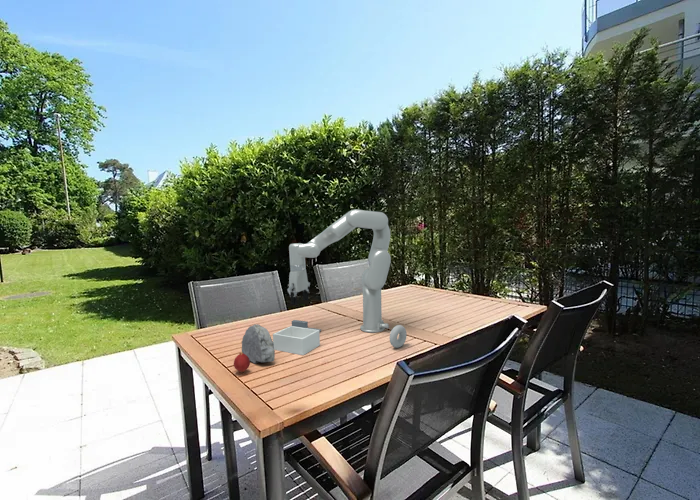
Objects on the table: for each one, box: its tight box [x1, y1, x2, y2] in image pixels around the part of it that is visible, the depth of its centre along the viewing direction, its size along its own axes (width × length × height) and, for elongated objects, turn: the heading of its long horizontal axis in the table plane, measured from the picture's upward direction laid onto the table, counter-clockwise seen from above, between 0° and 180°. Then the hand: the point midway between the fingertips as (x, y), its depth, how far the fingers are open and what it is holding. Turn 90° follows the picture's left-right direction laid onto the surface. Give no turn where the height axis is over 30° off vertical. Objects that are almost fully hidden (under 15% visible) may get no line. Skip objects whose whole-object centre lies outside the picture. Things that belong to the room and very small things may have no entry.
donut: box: [389, 324, 408, 349], centre depth 152 cm, size 10×4×10 cm, turn 133°
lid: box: [291, 319, 322, 333], centre depth 174 cm, size 17×14×7 cm
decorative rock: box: [241, 324, 276, 364], centre depth 140 cm, size 16×7×15 cm, turn 49°
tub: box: [272, 325, 321, 356], centre depth 155 cm, size 16×13×7 cm
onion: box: [233, 351, 251, 374], centre depth 130 cm, size 6×6×8 cm
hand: (300, 302), depth 173 cm, fingers open, 9 cm apart
